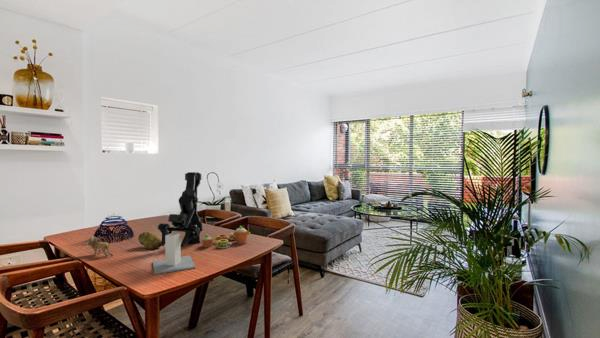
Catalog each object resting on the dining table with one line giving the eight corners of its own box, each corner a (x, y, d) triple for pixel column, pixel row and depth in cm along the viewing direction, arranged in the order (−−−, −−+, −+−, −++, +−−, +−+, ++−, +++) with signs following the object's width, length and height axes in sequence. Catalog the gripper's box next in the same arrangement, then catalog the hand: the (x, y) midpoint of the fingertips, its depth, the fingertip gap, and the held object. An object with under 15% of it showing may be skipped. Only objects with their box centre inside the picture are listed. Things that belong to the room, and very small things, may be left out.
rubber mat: (190, 257, 144) (190, 255, 144) (195, 268, 130) (195, 266, 130) (153, 262, 136) (153, 260, 136) (154, 274, 122) (154, 272, 122)
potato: (148, 251, 151) (148, 236, 151) (135, 247, 158) (135, 232, 158) (164, 247, 158) (164, 232, 158) (151, 243, 165) (151, 229, 165)
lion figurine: (84, 255, 145) (84, 237, 145) (94, 252, 150) (94, 234, 150) (108, 258, 141) (108, 239, 141) (118, 255, 146) (117, 236, 146)
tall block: (171, 261, 136) (171, 233, 135) (180, 262, 135) (180, 233, 134) (165, 264, 131) (165, 235, 131) (174, 265, 130) (174, 236, 130)
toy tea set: (236, 237, 181) (236, 221, 181) (253, 242, 171) (253, 225, 170) (197, 246, 161) (197, 228, 161) (213, 252, 151) (213, 234, 151)
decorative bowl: (110, 233, 187) (110, 210, 186) (140, 234, 185) (140, 211, 184) (84, 242, 167) (83, 216, 166) (117, 243, 165) (117, 218, 164)
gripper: (159, 205, 137) (143, 235, 127) (197, 207, 134) (183, 238, 124) (170, 219, 146) (155, 248, 135) (205, 221, 142) (193, 251, 132)
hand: (171, 246), depth 131 cm, fingers open, 9 cm apart
